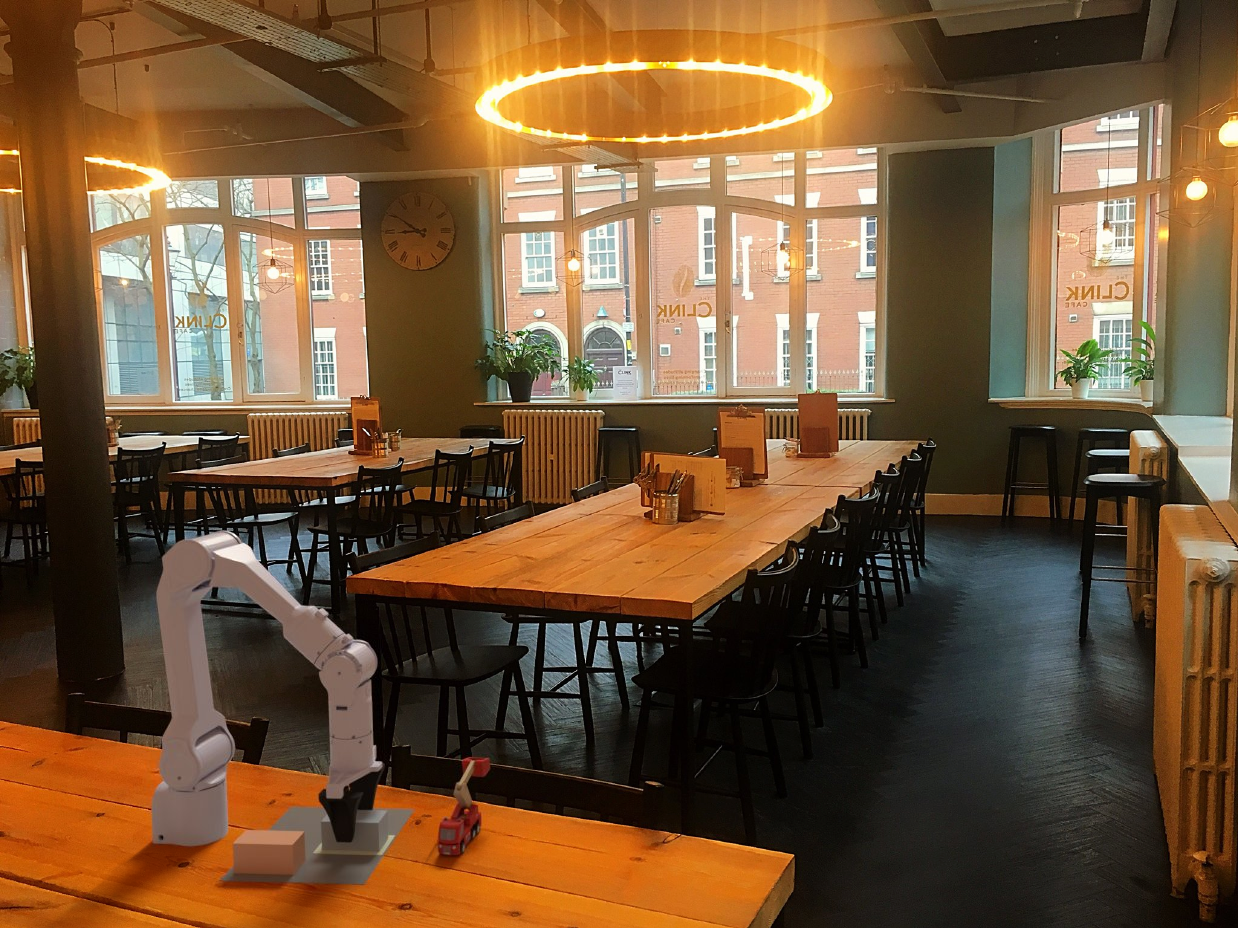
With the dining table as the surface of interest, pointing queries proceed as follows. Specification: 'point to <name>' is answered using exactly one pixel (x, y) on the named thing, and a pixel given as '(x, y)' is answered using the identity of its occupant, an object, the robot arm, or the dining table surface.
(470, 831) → the toy fire truck
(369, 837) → the slate brick
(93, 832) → the dining table surface
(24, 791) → the dining table surface
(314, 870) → the baseplate
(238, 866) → the terracotta brick
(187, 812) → the robot arm
